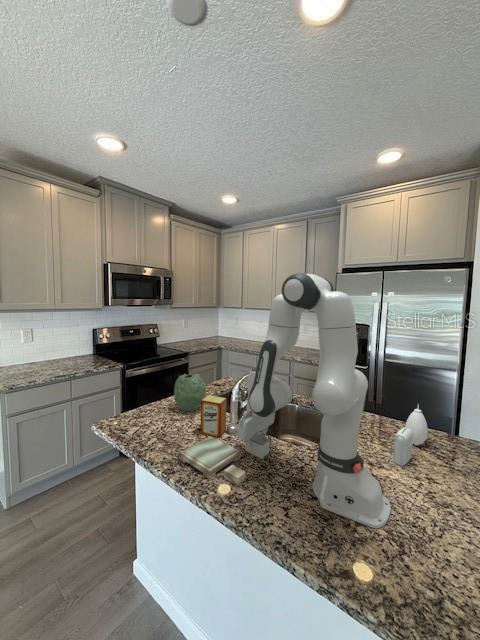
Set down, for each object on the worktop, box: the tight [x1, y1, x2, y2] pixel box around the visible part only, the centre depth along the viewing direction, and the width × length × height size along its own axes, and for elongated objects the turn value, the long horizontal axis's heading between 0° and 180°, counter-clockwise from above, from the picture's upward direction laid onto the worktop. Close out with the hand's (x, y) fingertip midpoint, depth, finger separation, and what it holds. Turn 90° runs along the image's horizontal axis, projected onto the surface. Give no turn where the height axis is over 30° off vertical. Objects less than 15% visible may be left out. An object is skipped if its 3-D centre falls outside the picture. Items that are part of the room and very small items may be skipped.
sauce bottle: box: [404, 403, 428, 446], centre depth 116 cm, size 8×8×18 cm
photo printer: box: [392, 426, 413, 467], centre depth 104 cm, size 10×4×12 cm, turn 132°
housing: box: [244, 433, 270, 459], centre depth 107 cm, size 8×5×6 cm, turn 50°
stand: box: [179, 436, 241, 480], centre depth 102 cm, size 16×16×3 cm
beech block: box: [223, 464, 247, 487], centre depth 91 cm, size 6×4×3 cm, turn 50°
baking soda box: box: [200, 394, 228, 439], centre depth 121 cm, size 10×6×16 cm
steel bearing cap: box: [226, 422, 239, 436], centre depth 123 cm, size 5×5×3 cm
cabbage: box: [173, 373, 208, 412], centre depth 144 cm, size 16×19×20 cm
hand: (256, 441), depth 108 cm, fingers open, 8 cm apart
